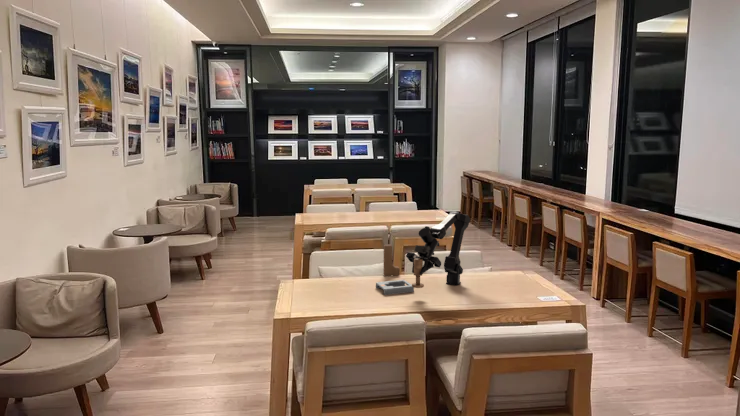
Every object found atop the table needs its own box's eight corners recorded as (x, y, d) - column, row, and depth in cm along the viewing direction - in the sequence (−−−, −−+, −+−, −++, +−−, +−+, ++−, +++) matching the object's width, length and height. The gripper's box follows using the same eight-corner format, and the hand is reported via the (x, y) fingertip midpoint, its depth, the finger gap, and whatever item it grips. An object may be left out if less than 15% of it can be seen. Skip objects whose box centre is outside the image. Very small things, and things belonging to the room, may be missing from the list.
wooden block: (398, 273, 319) (398, 244, 317) (399, 275, 315) (399, 245, 312) (383, 274, 319) (383, 244, 316) (384, 276, 314) (384, 245, 312)
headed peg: (425, 285, 274) (426, 258, 272) (420, 288, 269) (421, 261, 267) (415, 283, 277) (415, 257, 275) (409, 286, 272) (410, 259, 270)
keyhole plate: (404, 285, 297) (404, 279, 296) (413, 291, 284) (413, 285, 284) (375, 287, 291) (375, 282, 291) (384, 294, 279) (384, 288, 279)
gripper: (408, 236, 278) (394, 261, 272) (438, 241, 266) (425, 267, 260) (416, 248, 285) (404, 273, 279) (446, 254, 273) (434, 280, 267)
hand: (416, 273), depth 271 cm, fingers closed on headed peg, 4 cm apart
